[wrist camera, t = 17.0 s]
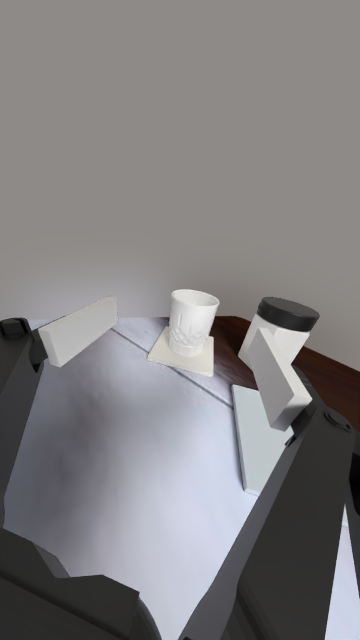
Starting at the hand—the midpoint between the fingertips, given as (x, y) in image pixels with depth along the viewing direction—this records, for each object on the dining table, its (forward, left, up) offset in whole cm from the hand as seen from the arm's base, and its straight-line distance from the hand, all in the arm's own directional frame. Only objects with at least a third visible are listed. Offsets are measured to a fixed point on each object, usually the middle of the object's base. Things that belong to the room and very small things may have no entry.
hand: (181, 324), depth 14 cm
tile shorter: (0, -12, -12) cm, 16 cm away
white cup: (0, -12, -11) cm, 16 cm away
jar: (-15, -14, -12) cm, 24 cm away
